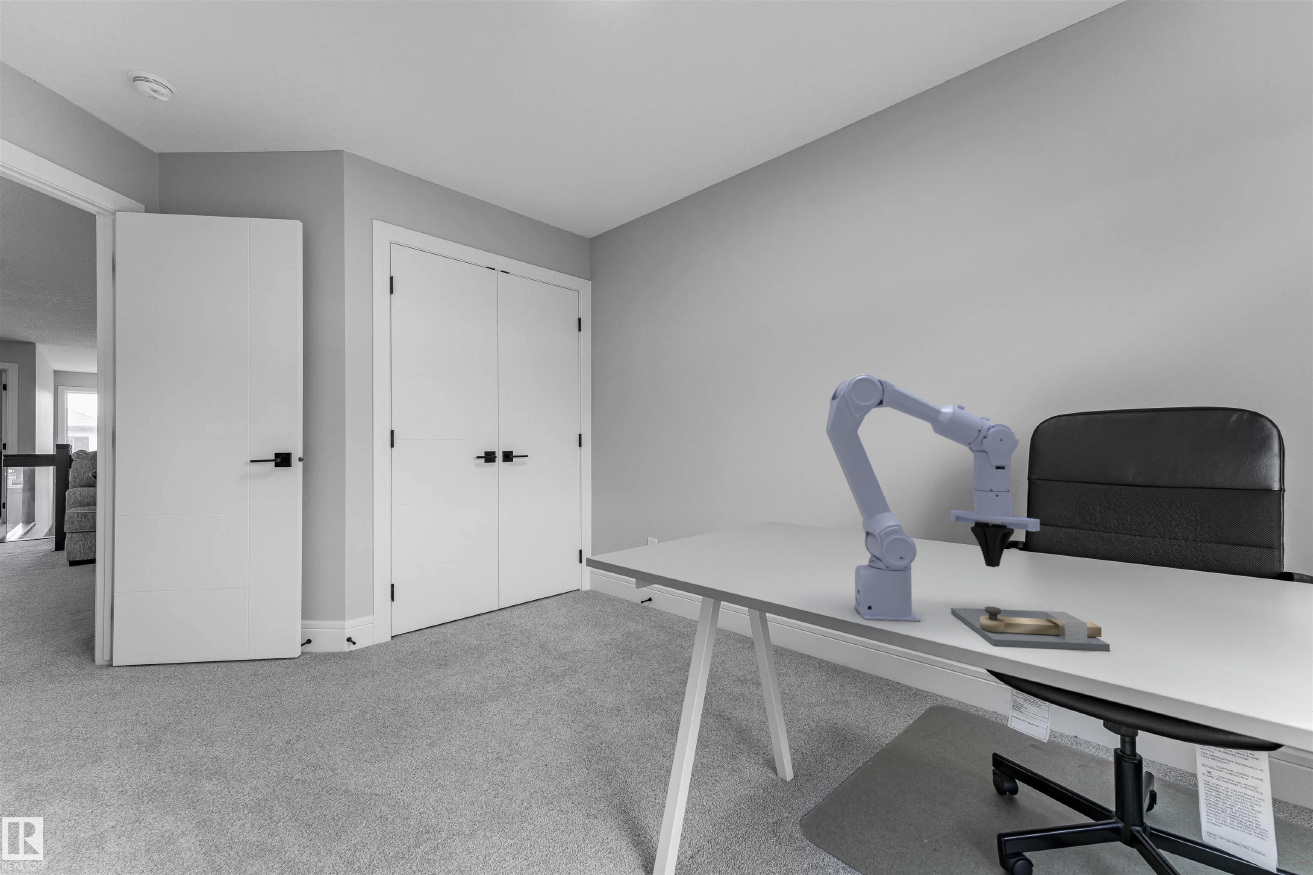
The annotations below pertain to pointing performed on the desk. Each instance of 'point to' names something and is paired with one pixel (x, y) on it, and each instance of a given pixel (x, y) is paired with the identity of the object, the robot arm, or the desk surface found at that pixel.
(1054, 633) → the tan latch lever
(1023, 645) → the base plate
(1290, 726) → the desk surface
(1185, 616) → the desk surface
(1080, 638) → the keeper
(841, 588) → the desk surface
